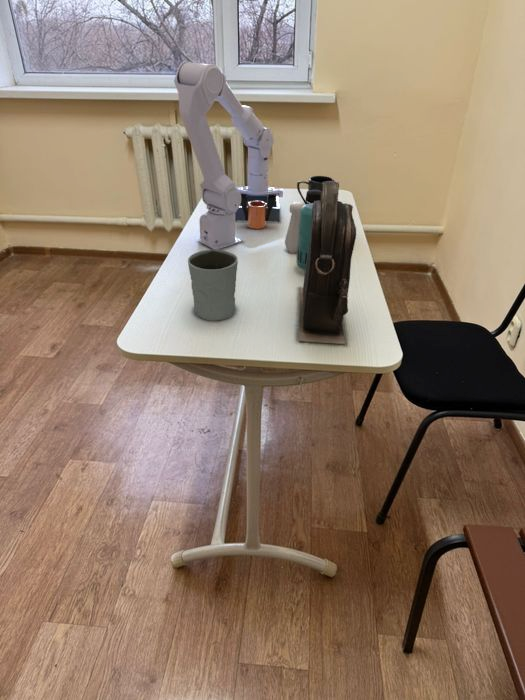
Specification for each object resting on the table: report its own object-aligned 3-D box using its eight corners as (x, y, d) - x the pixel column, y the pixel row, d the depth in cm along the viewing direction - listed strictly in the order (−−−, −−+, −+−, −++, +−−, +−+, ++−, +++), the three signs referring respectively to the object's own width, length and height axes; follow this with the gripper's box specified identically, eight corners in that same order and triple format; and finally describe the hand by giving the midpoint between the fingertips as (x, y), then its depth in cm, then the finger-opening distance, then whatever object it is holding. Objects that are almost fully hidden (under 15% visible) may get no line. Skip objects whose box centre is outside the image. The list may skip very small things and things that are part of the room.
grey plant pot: (195, 324, 98) (192, 272, 91) (187, 301, 106) (184, 251, 99) (243, 318, 100) (243, 266, 93) (232, 296, 108) (231, 246, 101)
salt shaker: (305, 255, 127) (309, 207, 120) (284, 254, 127) (287, 206, 120) (304, 246, 132) (308, 200, 125) (284, 245, 132) (286, 199, 125)
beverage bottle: (322, 266, 122) (331, 188, 110) (318, 278, 117) (327, 197, 105) (298, 263, 123) (304, 185, 111) (292, 274, 118) (298, 193, 106)
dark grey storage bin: (279, 222, 147) (279, 208, 144) (235, 221, 146) (235, 207, 144) (277, 207, 158) (278, 194, 155) (237, 206, 157) (237, 193, 155)
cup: (255, 230, 139) (256, 208, 135) (243, 224, 142) (243, 203, 138) (269, 225, 142) (270, 204, 138) (257, 220, 145) (258, 199, 141)
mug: (294, 204, 161) (295, 175, 156) (328, 204, 162) (331, 175, 156) (296, 212, 154) (298, 182, 149) (333, 212, 155) (336, 183, 150)
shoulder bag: (299, 288, 112) (310, 165, 96) (338, 290, 112) (355, 167, 95) (298, 342, 94) (311, 201, 77) (344, 345, 93) (367, 204, 77)
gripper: (283, 169, 136) (280, 215, 144) (232, 168, 136) (233, 214, 144) (284, 176, 130) (281, 224, 138) (231, 175, 130) (232, 223, 138)
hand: (257, 219), depth 141 cm, fingers closed on cup, 5 cm apart
